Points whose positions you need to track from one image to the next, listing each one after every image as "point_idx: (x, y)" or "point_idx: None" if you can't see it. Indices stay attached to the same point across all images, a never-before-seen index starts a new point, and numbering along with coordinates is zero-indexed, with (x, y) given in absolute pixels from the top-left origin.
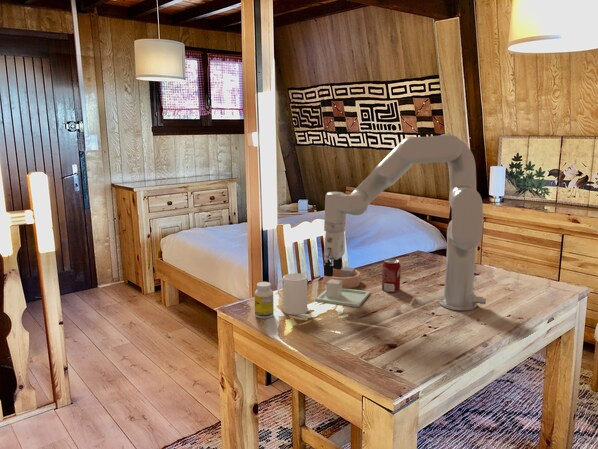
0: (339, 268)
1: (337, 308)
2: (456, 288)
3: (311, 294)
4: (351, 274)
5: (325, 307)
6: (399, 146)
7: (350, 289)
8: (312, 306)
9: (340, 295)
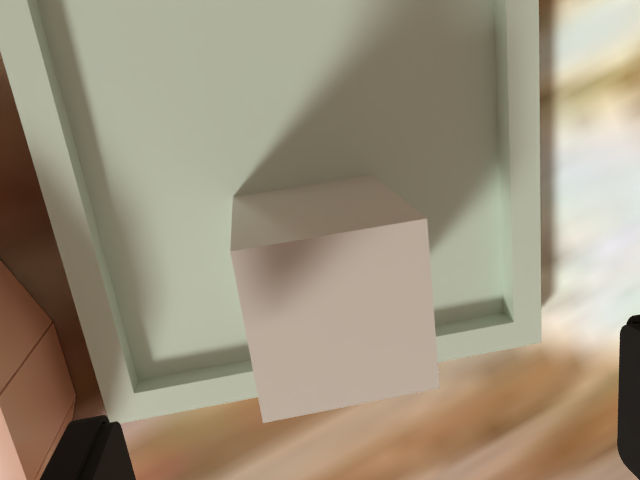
0: (121, 451)
1: (595, 59)
2: None
3: (354, 456)
4: None
5: (612, 178)
6: None
7: (56, 167)
8: (631, 290)
9: (288, 189)
